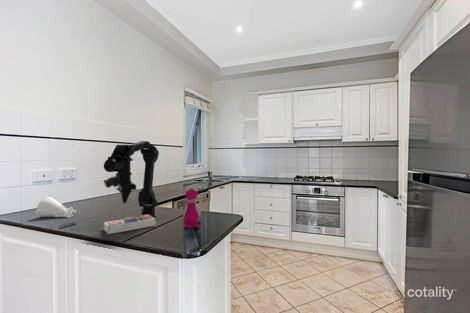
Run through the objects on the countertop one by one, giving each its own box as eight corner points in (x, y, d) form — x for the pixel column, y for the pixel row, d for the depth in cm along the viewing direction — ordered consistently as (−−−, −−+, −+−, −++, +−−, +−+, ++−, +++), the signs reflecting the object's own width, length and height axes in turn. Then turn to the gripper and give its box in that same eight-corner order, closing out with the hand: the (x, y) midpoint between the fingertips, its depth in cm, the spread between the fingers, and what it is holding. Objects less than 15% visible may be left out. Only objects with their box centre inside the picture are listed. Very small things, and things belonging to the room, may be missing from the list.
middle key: (133, 220, 120) (133, 216, 120) (136, 222, 116) (136, 218, 116) (124, 221, 117) (124, 217, 117) (126, 223, 113) (126, 219, 113)
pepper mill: (184, 224, 122) (185, 185, 122) (199, 224, 122) (199, 184, 122) (183, 228, 114) (183, 186, 115) (198, 228, 115) (198, 186, 115)
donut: (201, 220, 130) (201, 201, 130) (198, 222, 126) (198, 203, 127) (186, 218, 133) (186, 200, 134) (182, 220, 130) (182, 201, 130)
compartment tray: (149, 221, 127) (149, 215, 127) (155, 225, 120) (155, 218, 120) (103, 229, 113) (103, 222, 113) (108, 234, 106) (108, 226, 106)
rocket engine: (77, 200, 138) (49, 193, 140) (62, 216, 129) (32, 208, 131) (83, 212, 146) (57, 205, 147) (69, 228, 137) (41, 220, 139)
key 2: (148, 218, 124) (148, 214, 124) (151, 219, 121) (151, 215, 121) (138, 219, 121) (138, 215, 121) (141, 221, 118) (141, 217, 118)
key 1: (118, 225, 115) (118, 221, 115) (121, 227, 112) (121, 223, 112) (108, 226, 112) (108, 222, 112) (110, 229, 109) (110, 224, 109)
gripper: (101, 170, 117) (101, 202, 117) (109, 172, 102) (109, 209, 103) (125, 169, 124) (126, 199, 124) (136, 171, 109) (136, 205, 110)
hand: (124, 203), depth 115 cm, fingers closed
